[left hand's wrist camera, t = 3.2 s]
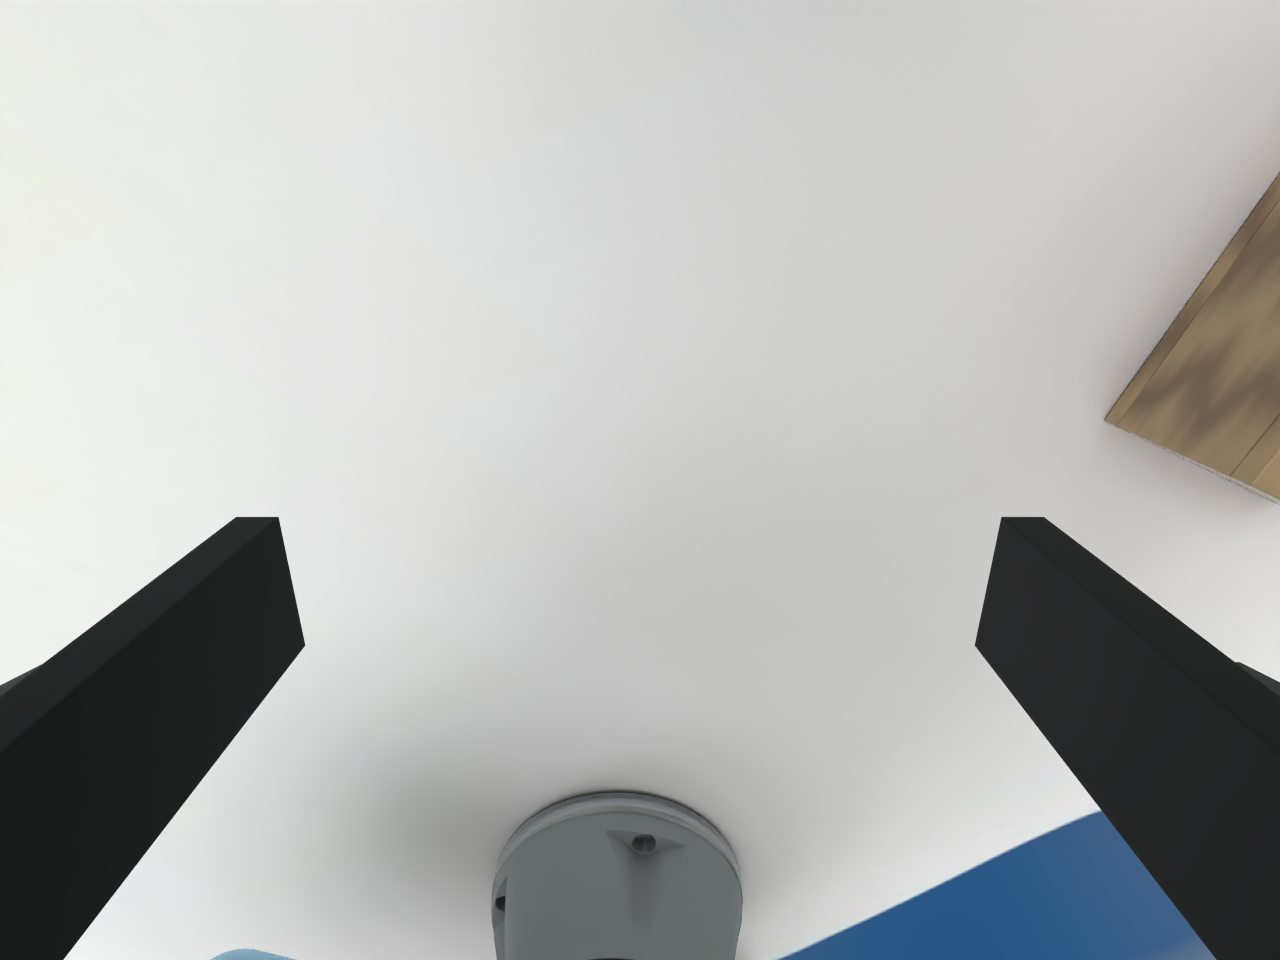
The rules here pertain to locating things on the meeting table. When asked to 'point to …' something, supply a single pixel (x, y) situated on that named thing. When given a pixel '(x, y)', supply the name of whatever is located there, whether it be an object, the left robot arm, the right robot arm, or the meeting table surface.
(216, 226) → the meeting table surface
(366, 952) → the meeting table surface
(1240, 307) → the cabinet
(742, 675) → the meeting table surface
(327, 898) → the meeting table surface
